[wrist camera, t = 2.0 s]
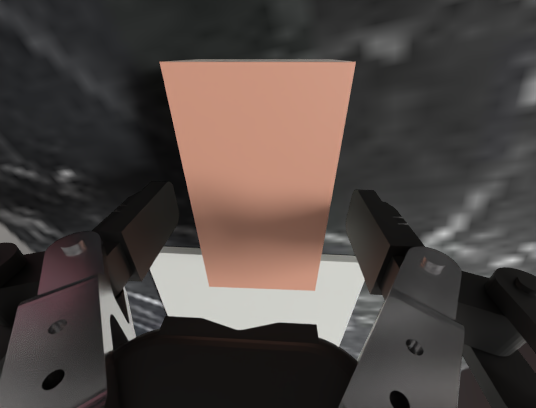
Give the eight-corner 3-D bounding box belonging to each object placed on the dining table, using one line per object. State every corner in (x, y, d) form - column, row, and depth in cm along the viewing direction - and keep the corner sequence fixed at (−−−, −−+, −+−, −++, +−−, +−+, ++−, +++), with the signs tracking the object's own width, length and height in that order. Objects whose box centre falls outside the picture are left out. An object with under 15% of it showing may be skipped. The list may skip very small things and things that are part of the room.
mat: (147, 245, 16) (143, 251, 15) (368, 256, 15) (371, 263, 15) (185, 351, 24) (183, 357, 23) (330, 359, 24) (331, 366, 23)
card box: (200, 59, 10) (159, 61, 7) (329, 59, 10) (356, 61, 6) (224, 235, 15) (209, 286, 12) (307, 238, 15) (315, 290, 12)
